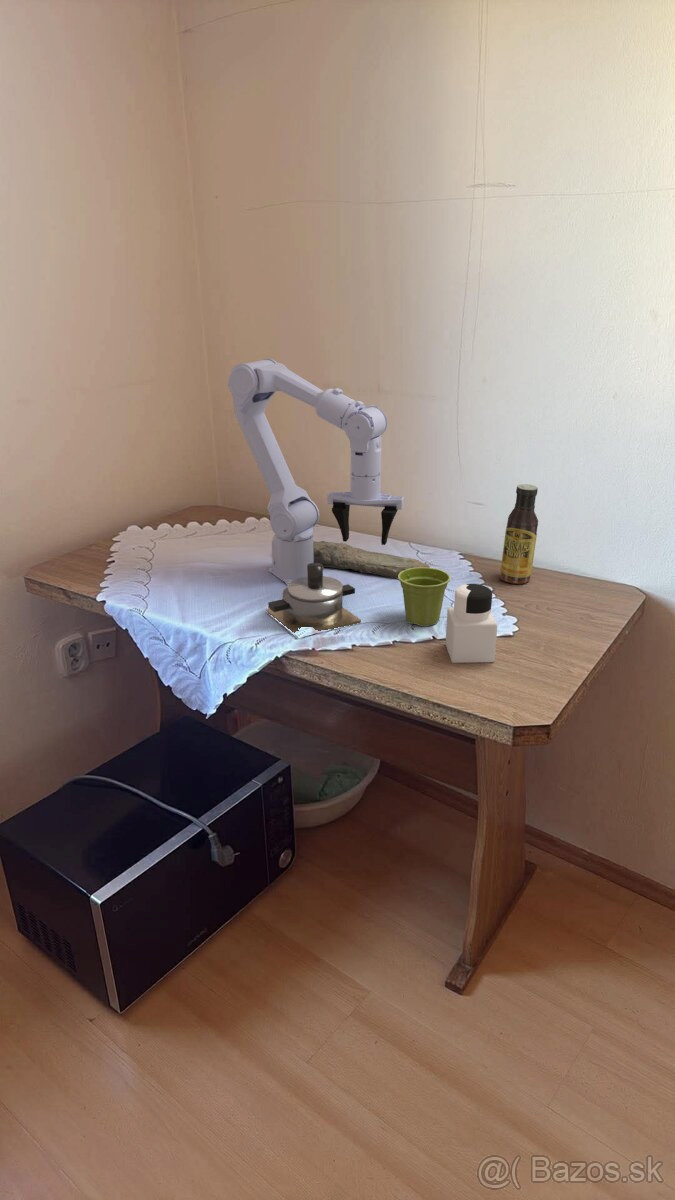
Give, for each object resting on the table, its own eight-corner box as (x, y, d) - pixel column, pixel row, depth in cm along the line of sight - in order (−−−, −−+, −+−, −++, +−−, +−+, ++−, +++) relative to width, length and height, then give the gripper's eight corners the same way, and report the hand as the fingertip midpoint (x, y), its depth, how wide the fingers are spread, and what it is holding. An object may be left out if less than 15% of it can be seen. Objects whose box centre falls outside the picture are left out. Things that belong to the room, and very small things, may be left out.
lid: (277, 591, 148) (276, 564, 145) (318, 577, 154) (317, 551, 152) (312, 607, 141) (311, 580, 139) (353, 592, 147) (353, 566, 145)
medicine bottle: (486, 643, 139) (491, 579, 134) (494, 663, 132) (500, 596, 128) (445, 644, 139) (448, 580, 134) (451, 663, 132) (455, 597, 127)
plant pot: (388, 613, 150) (389, 570, 147) (433, 606, 153) (435, 564, 150) (410, 634, 142) (411, 589, 139) (457, 626, 145) (459, 581, 142)
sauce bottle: (496, 582, 164) (503, 488, 156) (505, 572, 169) (513, 480, 161) (527, 587, 162) (537, 492, 154) (535, 577, 167) (545, 484, 159)
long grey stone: (420, 593, 163) (435, 579, 172) (423, 569, 161) (438, 555, 170) (269, 559, 176) (290, 548, 184) (270, 536, 174) (291, 526, 182)
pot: (256, 614, 150) (255, 589, 148) (334, 596, 158) (334, 572, 156) (288, 641, 140) (287, 615, 138) (369, 620, 147) (370, 595, 145)
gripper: (407, 470, 153) (405, 537, 158) (334, 465, 156) (334, 532, 161) (400, 479, 146) (398, 549, 152) (324, 474, 150) (324, 543, 155)
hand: (364, 541), depth 156 cm, fingers open, 7 cm apart
